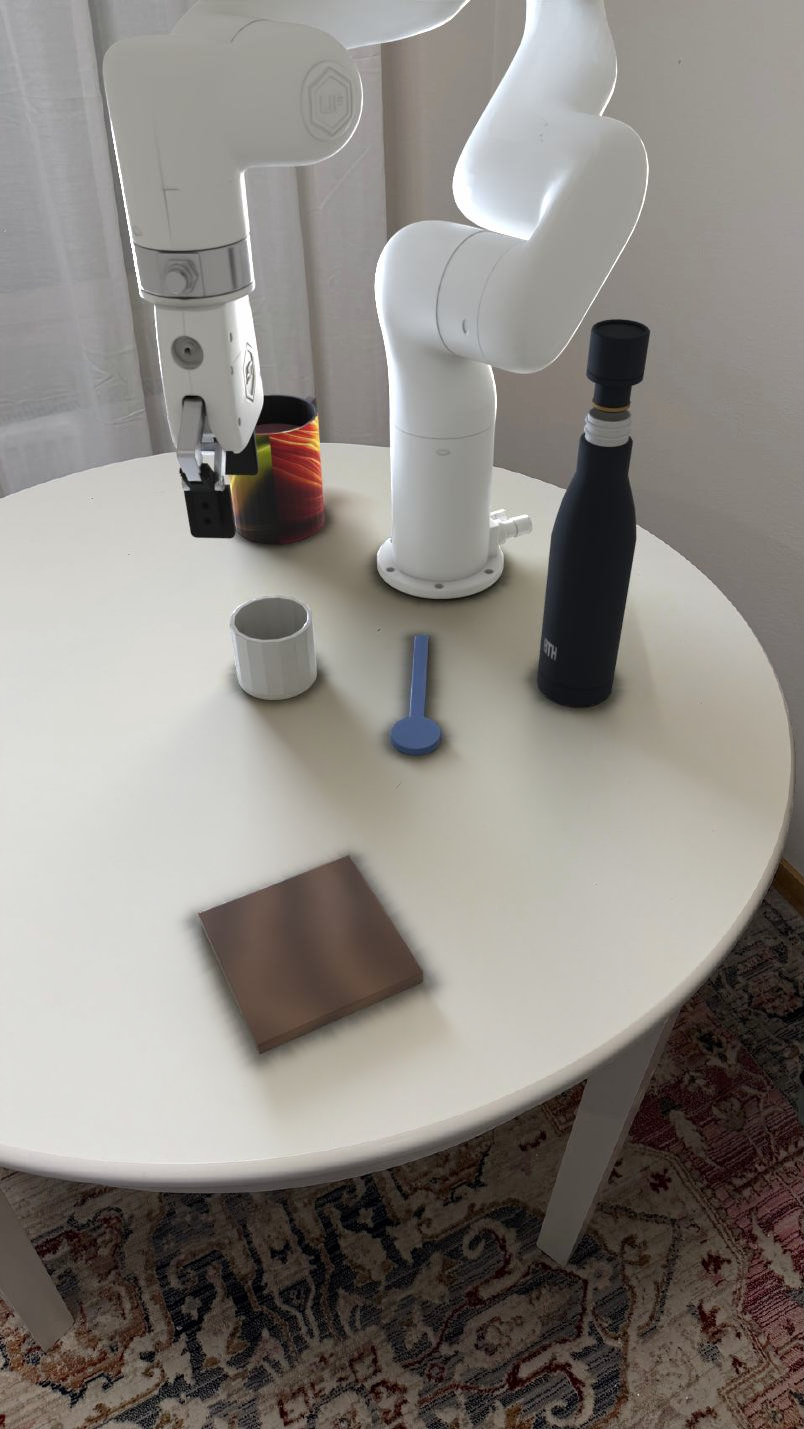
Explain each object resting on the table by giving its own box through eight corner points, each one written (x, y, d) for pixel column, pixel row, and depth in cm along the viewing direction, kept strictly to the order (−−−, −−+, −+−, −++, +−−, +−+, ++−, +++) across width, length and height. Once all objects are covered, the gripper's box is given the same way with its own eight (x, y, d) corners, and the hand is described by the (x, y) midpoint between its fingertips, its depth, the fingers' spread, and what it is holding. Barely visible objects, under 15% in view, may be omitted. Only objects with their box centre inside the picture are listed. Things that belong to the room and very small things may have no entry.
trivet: (350, 863, 71) (349, 854, 70) (423, 981, 63) (423, 971, 62) (199, 921, 67) (197, 912, 66) (259, 1054, 59) (257, 1045, 59)
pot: (298, 644, 91) (293, 587, 87) (329, 685, 86) (325, 628, 82) (227, 665, 88) (218, 608, 84) (254, 709, 84) (246, 651, 80)
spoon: (399, 639, 91) (399, 633, 91) (443, 640, 91) (444, 634, 90) (389, 754, 79) (389, 748, 79) (440, 756, 79) (440, 749, 79)
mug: (321, 479, 115) (315, 376, 107) (326, 541, 104) (319, 432, 97) (236, 484, 114) (223, 381, 107) (233, 546, 104) (218, 437, 96)
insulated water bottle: (621, 672, 87) (680, 319, 68) (600, 716, 83) (656, 352, 63) (550, 654, 89) (588, 307, 70) (526, 695, 85) (559, 337, 65)
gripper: (226, 311, 58) (256, 565, 69) (273, 229, 72) (292, 453, 83) (99, 310, 59) (149, 562, 70) (169, 228, 72) (202, 452, 83)
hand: (227, 503), depth 76 cm, fingers open, 9 cm apart
